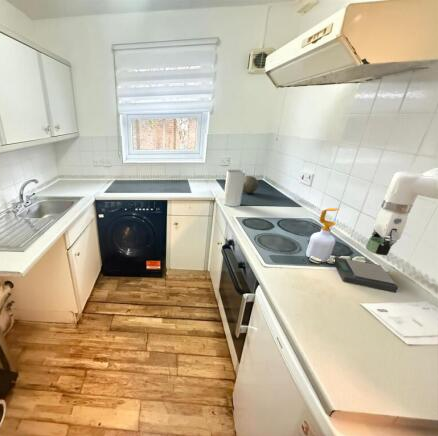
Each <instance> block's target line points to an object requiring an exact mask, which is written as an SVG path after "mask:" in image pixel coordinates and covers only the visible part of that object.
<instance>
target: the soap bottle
mask: <svg viewBox="0 0 438 436" xmlns="http://www.w3.org/2000/svg"><path fill="white" fill-rule="evenodd" d="M338 210H339V207H329V208H326V209H323V210H322V211H321V213H320V216H319V220H318V221H319V223H320V224H323V226H322V227H321V229H320V231H318V232H317V231H316V232H313V233H312V234H311V236H310V238H309V242H308V245H307V248H306V252H305V255H306V257H307V258H308V257H311V256H314V257H316V258H319V259H321V260H322V262H321V263H327V262H328V261H327V260H328V259H329V258H330V259H331V255H332V253H333V250H334V248H335V245H336V238H335V237H334V236H333V235H332V234H331V230H332V229H331V228H330V227H333V226H335V225H336V222H333V221H329V220H328V219H327V220H326V214H327V212H336V211H338ZM330 259H329V260H330ZM326 261H327V262H326Z"/></svg>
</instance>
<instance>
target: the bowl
mask: <svg viewBox="0 0 438 436" xmlns="http://www.w3.org/2000/svg"><path fill="white" fill-rule="evenodd" d="M381 241H382V238H377V237H371V236H370V237H369V239H368V241H367V244H366V246H365V248H366V250H367V251H368V252H370V253H372V254H374V255H379V256H381V255H380V254H376V250H377V248H378V246H379V244H381ZM386 241H389V239H385V242H386ZM391 248H392V247H391ZM391 248H390V250H389V252H388V254H389V253H390V251H391Z"/></svg>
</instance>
